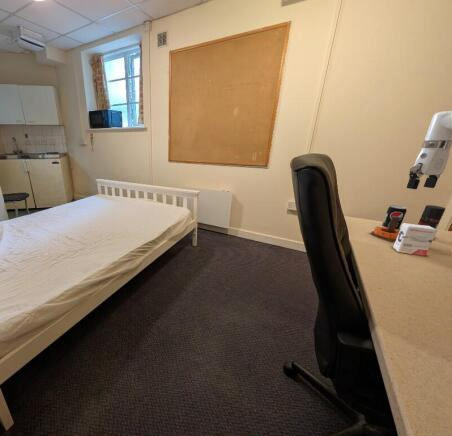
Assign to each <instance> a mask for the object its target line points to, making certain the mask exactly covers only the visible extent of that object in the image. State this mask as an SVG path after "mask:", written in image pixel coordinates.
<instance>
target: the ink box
mask: <svg viewBox="0 0 452 436" xmlns="http://www.w3.org/2000/svg"><path fill="white" fill-rule="evenodd" d="M399 231H400V232H399V234H398V236H397V239H396V241H395V242H394V244H393V246H392V248H393V249H394V250H395V251H396V252H397V253H403V254H409V255H415V256H416V255H417V256H423V257H426V255H427V253H428V251H429V249H430V247H431V245H432V242H433V241H434V238H435V237H436V234H437V232H438V230H437V228H436V229H434V228H432V227H430V226H424V225H418V224H414V223H407V222H405V223H404V222H402V224H401V226H400V228H399Z"/></svg>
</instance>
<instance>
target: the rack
mask: <svg viewBox="0 0 452 436" xmlns="http://www.w3.org/2000/svg"><path fill="white" fill-rule="evenodd" d="M399 218H400V217H398V216H392V219H391V221H390V224H389V226H388V229H387V232H388V233H394V230H395V228H396V225H397V223H398V220H399ZM370 235H373V236H375V237H378V238H381V239H383V240H385V241H388V242H390V243H395V241H396V239H392V238H386V237H383V236H380V235H377V234H375V233H374V230H372V231H371V233H370Z"/></svg>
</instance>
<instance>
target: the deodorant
mask: <svg viewBox="0 0 452 436" xmlns="http://www.w3.org/2000/svg"><path fill="white" fill-rule="evenodd" d="M445 211H446V207H443V206H440V205H431V204H426V205H425V206H424V209H423V211H422V213H421V216H420V218H419V221H418V223H417V225H424V226H430V227H432V228H434V229H436V230H437V228H438V226H439V224H440V222H441V220H442V217H443V215H444V213H445Z"/></svg>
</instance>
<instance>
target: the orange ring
mask: <svg viewBox="0 0 452 436" xmlns="http://www.w3.org/2000/svg"><path fill="white" fill-rule="evenodd" d="M387 229H388V228H386V227H383V226H376V227H375V228H374V230H373V231H374V233H375V234H377V235H380V236H383V237H386V238H392V239H397V236H398V234H399V232H400V230H399V229H398V230H394V233H388V232H387Z"/></svg>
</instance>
